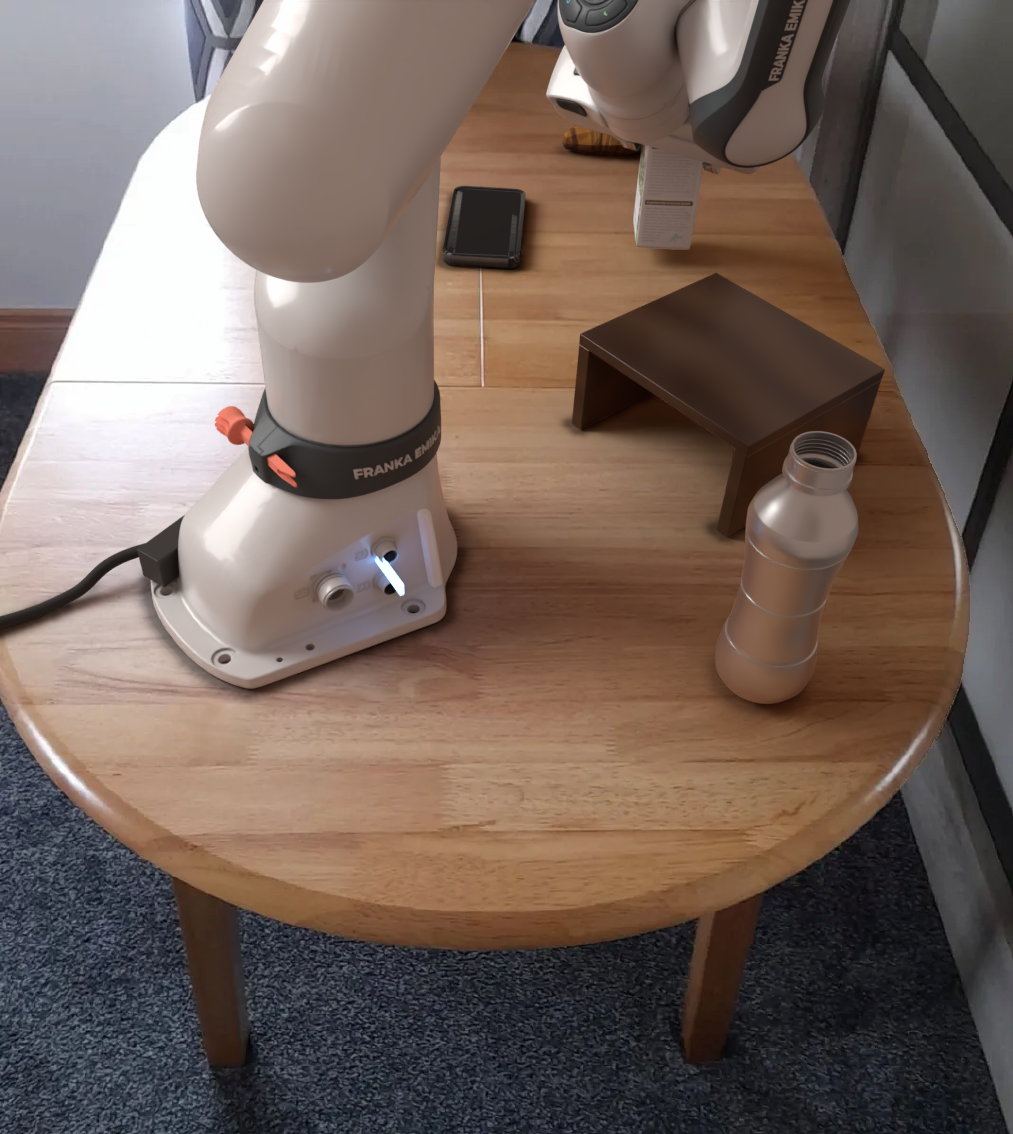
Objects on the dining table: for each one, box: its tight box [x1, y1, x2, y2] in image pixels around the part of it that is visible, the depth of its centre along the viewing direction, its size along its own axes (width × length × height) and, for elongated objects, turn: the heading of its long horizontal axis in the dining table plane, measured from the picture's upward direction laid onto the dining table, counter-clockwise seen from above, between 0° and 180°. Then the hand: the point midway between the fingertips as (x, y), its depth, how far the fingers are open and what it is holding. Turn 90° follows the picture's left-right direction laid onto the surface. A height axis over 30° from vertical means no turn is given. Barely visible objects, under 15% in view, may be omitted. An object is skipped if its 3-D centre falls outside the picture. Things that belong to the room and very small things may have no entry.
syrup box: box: [632, 144, 704, 251], centre depth 114 cm, size 6×6×14 cm
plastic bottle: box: [714, 431, 859, 705], centre depth 72 cm, size 6×7×20 cm
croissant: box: [562, 125, 642, 156], centre depth 136 cm, size 14×7×5 cm, turn 98°
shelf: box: [571, 272, 886, 538], centre depth 95 cm, size 16×18×9 cm
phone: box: [442, 185, 526, 269], centre depth 122 cm, size 8×1×15 cm
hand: (674, 153), depth 114 cm, fingers closed on syrup box, 7 cm apart
